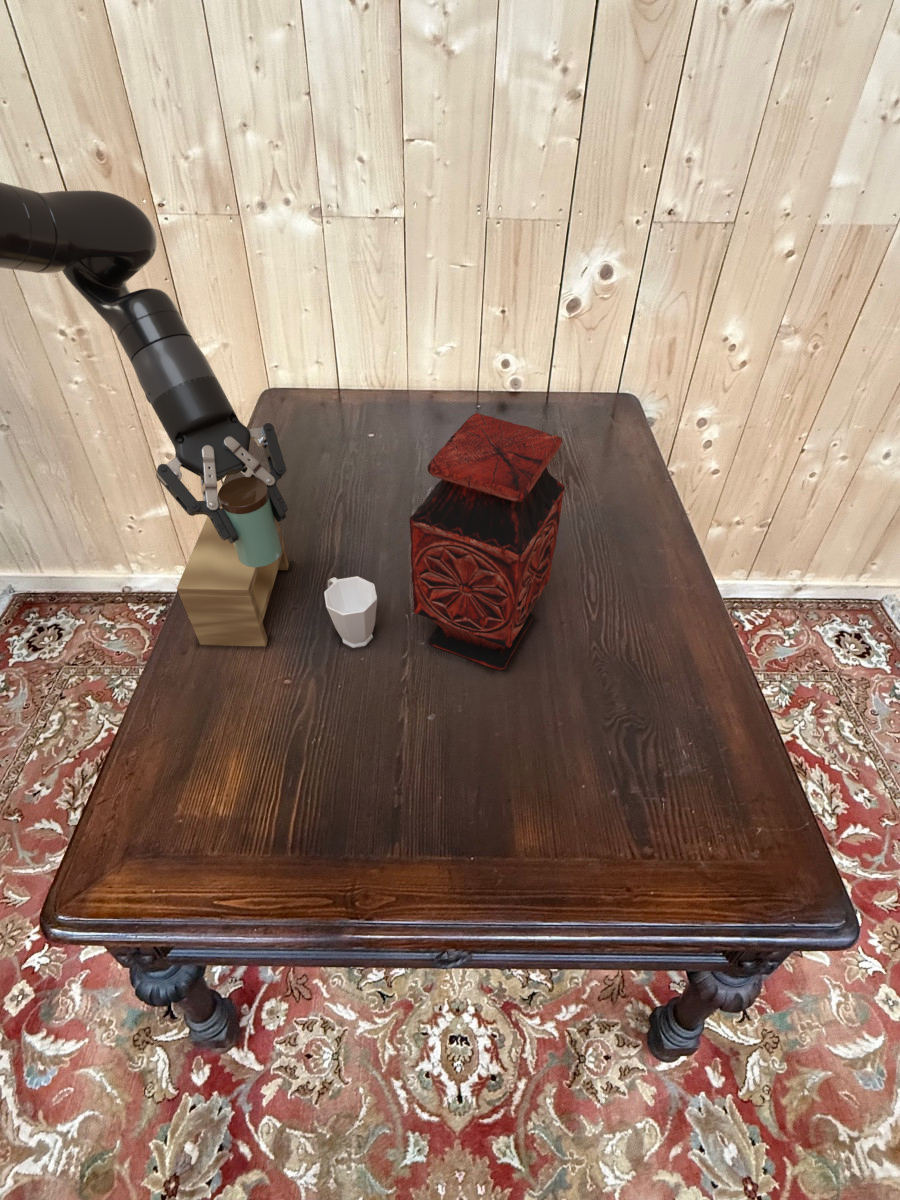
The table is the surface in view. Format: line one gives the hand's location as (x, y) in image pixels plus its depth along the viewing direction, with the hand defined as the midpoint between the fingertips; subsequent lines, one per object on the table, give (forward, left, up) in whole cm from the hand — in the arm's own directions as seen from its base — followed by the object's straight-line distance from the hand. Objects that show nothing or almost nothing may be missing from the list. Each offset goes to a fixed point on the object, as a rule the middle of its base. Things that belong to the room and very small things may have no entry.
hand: (258, 529), depth 77 cm
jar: (0, +2, -5) cm, 5 cm away
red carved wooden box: (+17, -19, -21) cm, 34 cm away
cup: (+7, -4, -21) cm, 23 cm away
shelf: (+2, +11, -21) cm, 24 cm away
